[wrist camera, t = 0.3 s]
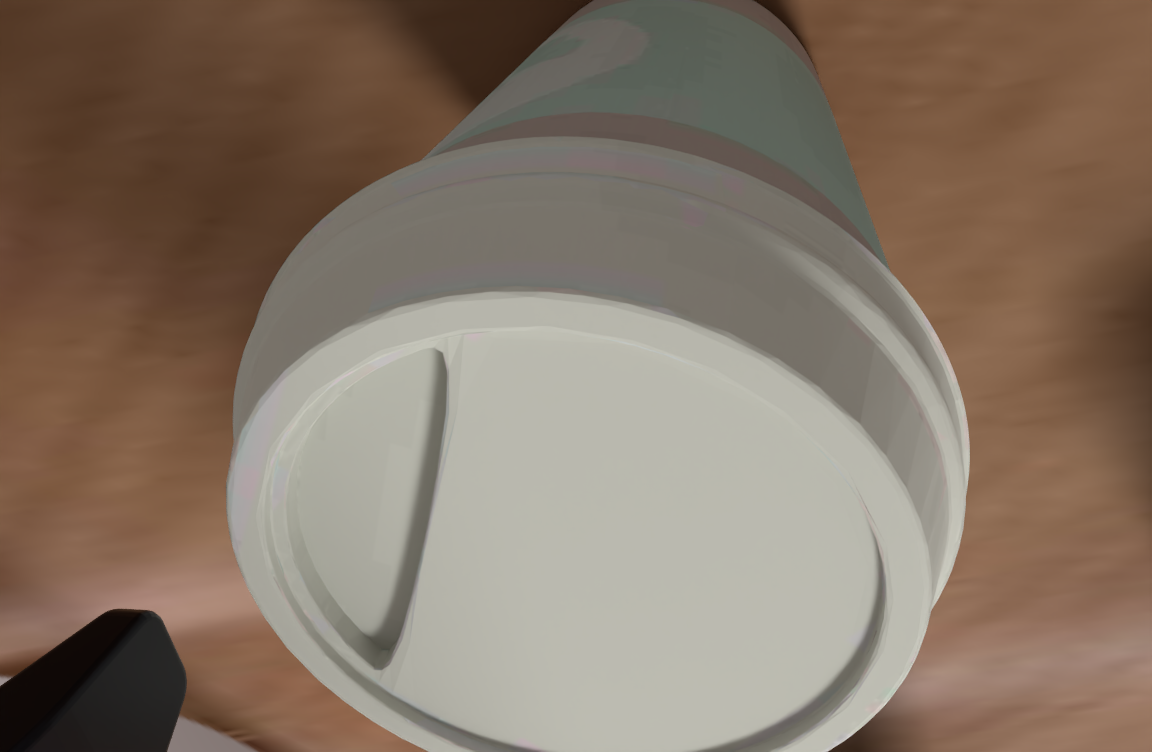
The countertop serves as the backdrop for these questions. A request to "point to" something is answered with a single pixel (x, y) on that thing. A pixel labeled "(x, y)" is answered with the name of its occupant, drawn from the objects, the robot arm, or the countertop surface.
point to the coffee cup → (606, 414)
